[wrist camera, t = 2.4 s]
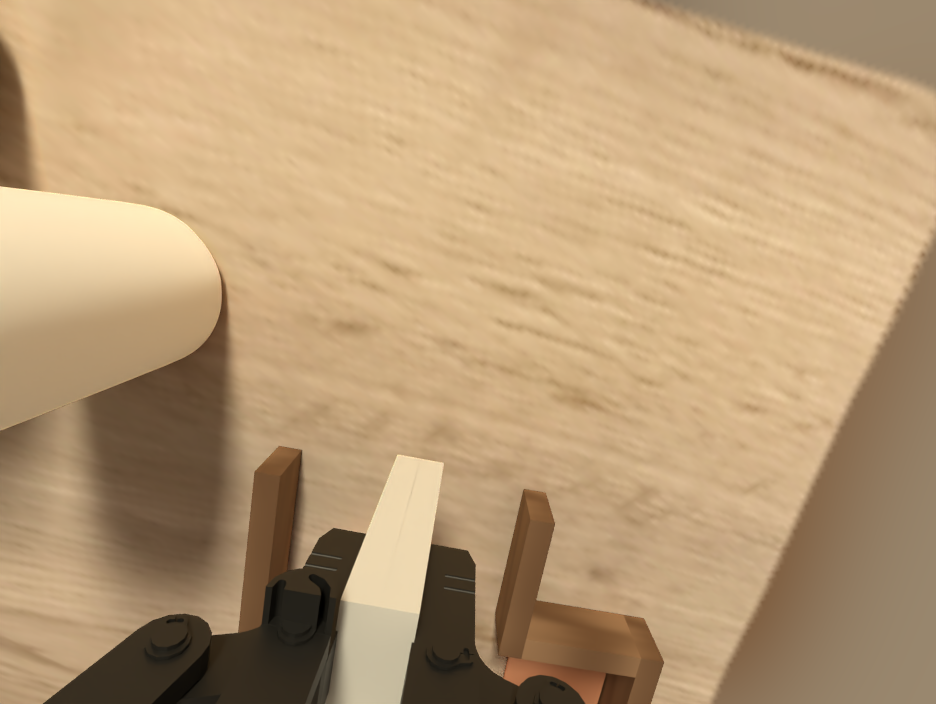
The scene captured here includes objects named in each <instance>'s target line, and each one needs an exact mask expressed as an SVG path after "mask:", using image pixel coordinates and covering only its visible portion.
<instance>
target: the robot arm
mask: <svg viewBox="0 0 936 704" xmlns="http://www.w3.org/2000/svg"><path fill="white" fill-rule="evenodd" d="M443 466H444V463H441V462H436V461H431V460H425V459H420V458H414V457H409V456H403V455H398V454H397V457H396V460H395V462H394V465H393V467H392V470H391V472H390V475H389V477H388V480H387V483H386V485H385V488H384V490H383V493H382V495H381V498H380V500H379V503H378V505H377V508H376V511H375V513H374V516H373V518H372V521H371V523H370V526H369V528H368V531H367V533H366V534H364V533H358V532H353V531H347V530H341V529H336V528H333V529H332V530H330V531H329V532H327V533H326V534H325V535H323V536H322V537H320V538H319V540H318V542H317V543H316V545H315V547H314V549H313V551H312V554H311V555H310V556H309V558H308V560H307V562H306V564H305V566H304V567H303V569H296V570H291V571H286V572H284V573H282V574H280V575H278V576H276V577H274V578H273V579H272V580H271V581H270V582H269V583H268V584H267V585H266V589H265V598H264V607H263V616H262V624H261V626H260V627H258V628H255V629H252V630H249V631H245V632H240V633H233V634H222V635H212V632H211V630H210V627H209V625H208V623H207V622H205V621H204V620H203V619H201V618H200V617H198V616H193V615H188V614H176V615H168V616H165V617H162V618H159V619H155V620H153V621H151V622H149V623H148V624H146V625H144V626H143V627H141V628H139V629H138V630H137V631H135V632H134V633H133V634H131V635H130V636H129V637H128V638H126V639H125V640H124V641H122V642H121V643H120V644H119V645H117V646H116V647H115V648H113V649H112V650H111V651H110V652H108V653H107V654H106V655H105V656H103V657H102V658H101V659H99V660H98V661H97V662H96V663H94V664H93V665H92V666H90V667H89V668H88V669H87V670H85V671H84V672H83V673H82V674H80V675H79V676H78V677H76V678H75V679H74V680H73V681H71V682H70V683H69V684H67V685H66V686H65V687H64V688H62V689H61V690H60V691H59V692H57V693H56V694H55V695H53V696H52V697H51V698H50V699H48V700H47V701H46V702H44V703H43V704H585V702H584V701H583V699H582V698H581V696H580V695H579V693H578V692H577V691H575V690H574V689H573V688H572V687H571V686H570V685H568V684H567V683H566V682H564V681H561V680H559V679H557V678H555V677H553V676H546V675H536V676H532V677H528V678H527V679H526V680H525V681H524V682H522V683H521V684H520V686H518V685H516V684H514V683H511V682H509V681H507V680H505V679H503V678H502V677H500V676H498V675H497V674H495V673H493V672H492V671H491V670H490V669H489V668H488V667H487V666H486V665H485V664H484V663H483V661H482V660H481V659H480V657H479V655H478V653H477V650H476V646H475V567H476V565H475V563H474V561H473V559H472V558H471V556H470V554H469V552H468V551H466V550H461V549H455V548H449V547H444V546H438V545H433V544H431V540H432V534H433V528H434V521H435V515H436V509H437V503H438V497H439V490H440V484H441V478H442V472H443Z"/></svg>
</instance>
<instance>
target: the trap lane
mask: <svg viewBox="0 0 936 704" xmlns="http://www.w3.org/2000/svg"><path fill="white" fill-rule="evenodd" d="M301 452H302V450H298V449H293V448H287V447H281V446H279V447H278V448H277V449H276V450H275V451H274V452H273V453H272V454H271V455H270V456H269V457H268V458H267V459H266V460H265V461H264V462H263V464H262V465H261V466H260V467H259V468H258V469H257V470H256V471H255V473H254V483H253V493H252V503H251V512H250V522H249V532H248V542H247V552H246V562H245V572H244V582H243V591H242V601H241V611H240V621H239V631H238V633H240V632H245V631H249V630H252V629H255V628H258V627H260V626H261V624H262V616H263V607H264V598H265V589H266V585H267V584H268V583H269V582H270V581H271V580H272V579H273V578H274V577H276V576H278V575H280V574H282V573H284V572H286V571H287V567H288V558H289V550H290V542H291V534H292V526H293V517H294V509H295V501H296V493H297V485H298V477H299V468H300V460H301ZM554 526H555V522H554V519H553V516H552V512H551V509H550V506H549V502H548V499H547V496H546V493H543V492H538V491H532V490H526V489H524V491H523V495H522V499H521V504H520V508H519V512H518V517H517V521H516V525H515V530H514V534H513V538H512V543H511V547H510V551H509V556H508V560H507V564H506V569H505V573H504V577H503V582H502V586H501V590H500V595H499V599H498V603H497V608H496V612H495V613H496V628H497V643H498V655H500V656H506V657H508V660H507V664H506V668H505V672H504V676H503V679H505V680H507V681H509V682H511V683H514V684H516V685H518V686H520V684H521V683H522V682H524V681H525V680H526V679H527V678H528V677H532V676H536V675H546V676H553V677H555V678H557V679H559V680H561V681H564V682H566V683H567V684H568V685H570V686H571V687H572V688H573V689H574V690H575V691H577V692H578V693H579V695H580V696H581V698H582V699H583V701H584V702H585V704H651V701H652V698H653V695H654V692H655V689H656V686H657V683H658V680H659V676H660V673H661V670H662V667H663V664H664V661H663V659H662V657H661V654H660V652H659V650H658V648H657V646H656V644H655V641H654V639H653V637H652V635H651V633H650V631H649V628H648V626H647V624H646V622H645V620H644V618H638V617H632V616H626V615H620V614H614V613H608V612H602V611H596V610H590V609H584V608H578V607H572V606H566V605H560V604H554V603H548V602H542V601H537V600H536V598H537V594H538V590H539V586H540V582H541V578H542V574H543V570H544V566H545V562H546V558H547V554H548V550H549V546H550V542H551V538H552V534H553V530H554Z"/></svg>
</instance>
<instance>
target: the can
mask: <svg viewBox="0 0 936 704" xmlns="http://www.w3.org/2000/svg"><path fill="white" fill-rule="evenodd" d="M221 303H222V287H221V278H220V274H219V271H218V268H217V265H216V263H215V261H214V259H213V257H212V255H211V254H210V252H209V250H208V249H207V247H206V246H205V245H204V243H203V242H202V241H201V239H200V238H199V237H198V236H197V235H196V234H195V233H194V231H193V230H192V229H191V228H189V227H188V226H187V225H186V224H185V223H183V222H182V221H181V220H179V219H178V218H176V217H174V216H173V215H171V214H169V213H167V212H164V211H162V210H159V209H157V208H153V207H149V206H145V205H140V204H134V203H127V202H119V201H112V200H104V199H97V198H89V197H81V196H73V195H65V194H57V193H50V192H42V191H34V190H26V189H18V188H9V187H1V186H0V431H1V430H4V429H7V428H9V427H12V426H14V425H17V424H19V423H22V422H24V421H27V420H30V419H32V418H35V417H37V416H40V415H42V414H45V413H47V412H50V411H53V410H55V409H58V408H60V407H63V406H65V405H68V404H70V403H73V402H75V401H78V400H80V399H83V398H86V397H88V396H91V395H93V394H96V393H98V392H101V391H103V390H106V389H108V388H111V387H113V386H116V385H118V384H121V383H123V382H126V381H128V380H131V379H133V378H136V377H138V376H141V375H143V374H146V373H148V372H151V371H153V370H156V369H158V368H161V367H163V366H166V365H168V364H171V363H173V362H175V361H178V360H180V359H182V358H184V357H186V356H188V355H189V354H191V353H193V352H194V351H195V350H197V349H198V348H199V347H200V346H201V345H202V344H203V343H204V342H205V341H206V340H207V339H208V337H209V336H210V334H211V333H212V331H213V329H214V328H215V325H216V323H217V321H218V318H219V314H220V310H221Z"/></svg>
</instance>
